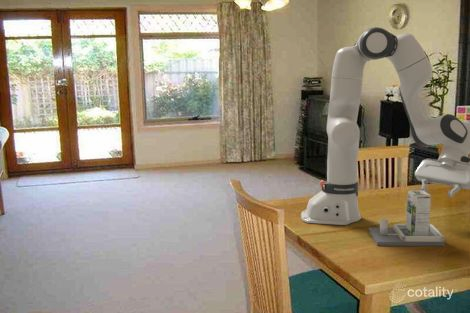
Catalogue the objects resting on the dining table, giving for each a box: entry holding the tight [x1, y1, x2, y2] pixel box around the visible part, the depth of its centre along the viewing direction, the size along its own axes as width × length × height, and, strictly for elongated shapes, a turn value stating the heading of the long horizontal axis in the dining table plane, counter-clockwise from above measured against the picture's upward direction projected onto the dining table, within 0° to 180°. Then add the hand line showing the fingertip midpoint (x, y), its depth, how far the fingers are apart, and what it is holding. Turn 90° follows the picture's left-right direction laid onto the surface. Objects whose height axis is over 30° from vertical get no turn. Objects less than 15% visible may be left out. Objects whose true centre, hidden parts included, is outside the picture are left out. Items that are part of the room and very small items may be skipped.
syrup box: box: [405, 189, 432, 236], centre depth 154 cm, size 6×6×14 cm
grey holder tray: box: [368, 218, 446, 247], centre depth 155 cm, size 21×14×6 cm, turn 85°
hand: (436, 193), depth 161 cm, fingers open, 8 cm apart
